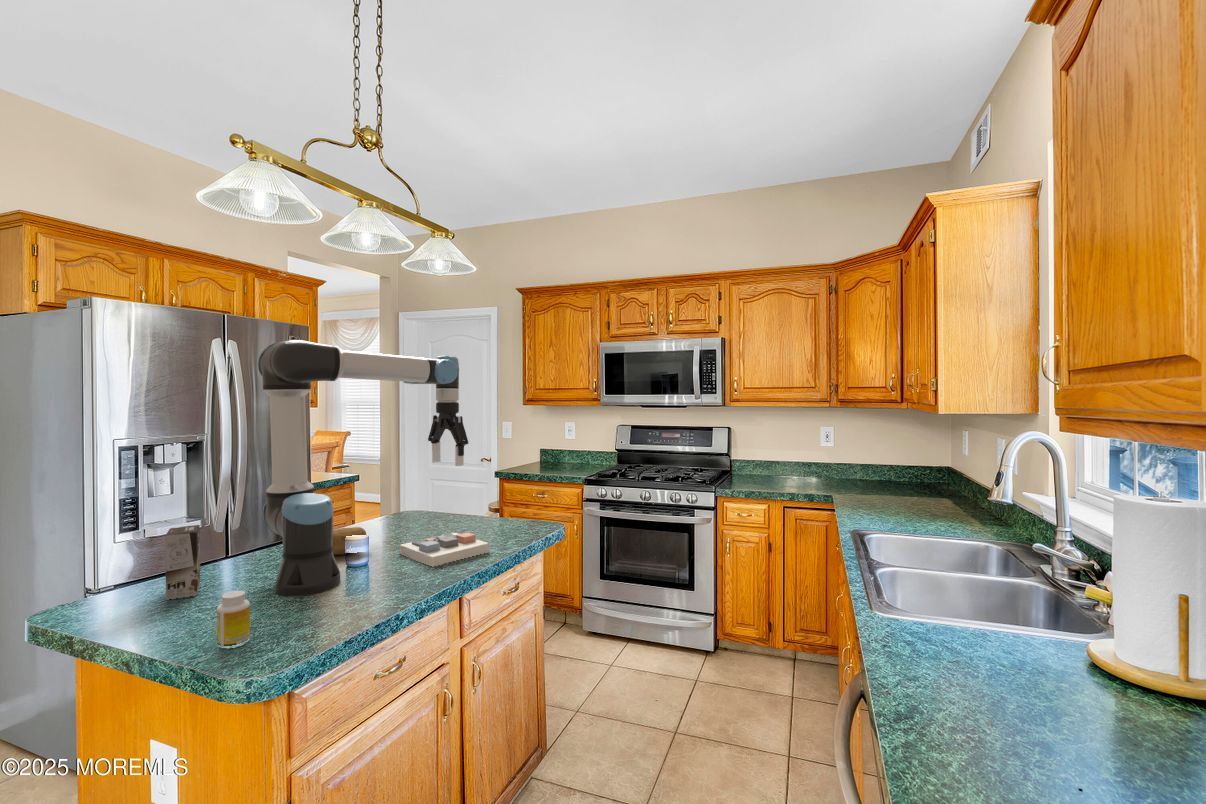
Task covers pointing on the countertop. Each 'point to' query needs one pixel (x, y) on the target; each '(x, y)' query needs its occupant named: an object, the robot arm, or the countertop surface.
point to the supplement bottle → (233, 619)
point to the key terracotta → (466, 538)
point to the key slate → (429, 546)
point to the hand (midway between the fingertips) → (447, 463)
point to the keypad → (443, 551)
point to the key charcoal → (448, 542)
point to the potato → (340, 537)
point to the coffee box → (182, 562)
